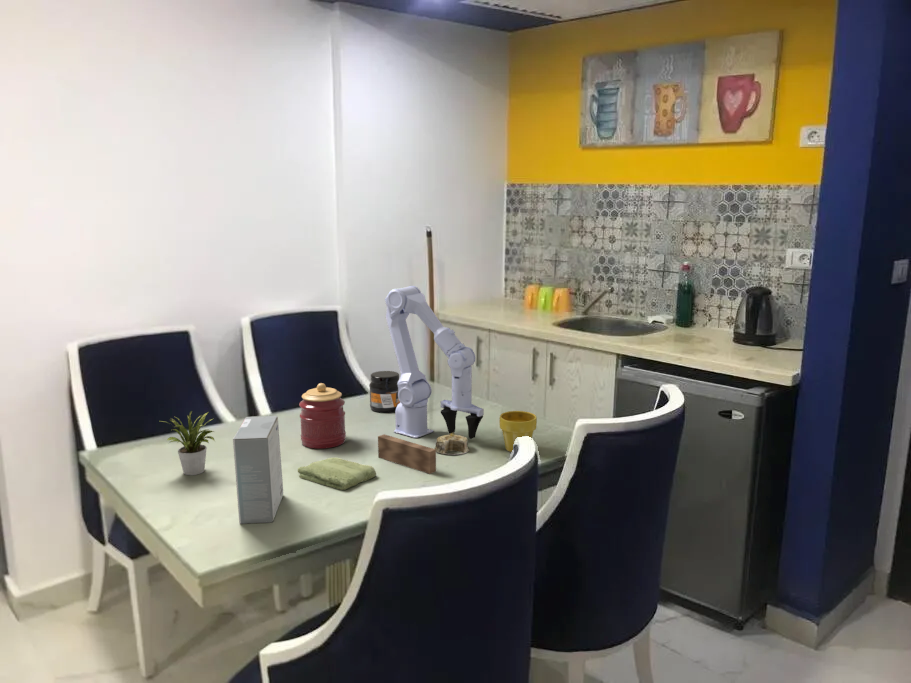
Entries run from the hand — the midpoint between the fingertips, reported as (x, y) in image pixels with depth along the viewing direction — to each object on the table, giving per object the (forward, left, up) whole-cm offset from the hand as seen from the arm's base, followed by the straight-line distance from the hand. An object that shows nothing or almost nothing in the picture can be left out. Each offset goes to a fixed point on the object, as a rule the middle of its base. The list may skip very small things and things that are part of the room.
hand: (461, 435), depth 212 cm
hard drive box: (-6, -65, -2) cm, 65 cm away
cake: (+2, -7, -2) cm, 7 cm away
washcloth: (-8, -41, -3) cm, 41 cm away
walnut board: (0, -23, -2) cm, 23 cm away
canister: (-31, -26, -2) cm, 40 cm away
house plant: (-39, -64, -2) cm, 75 cm away
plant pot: (+16, +5, -2) cm, 17 cm away
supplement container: (-41, +9, -2) cm, 42 cm away
